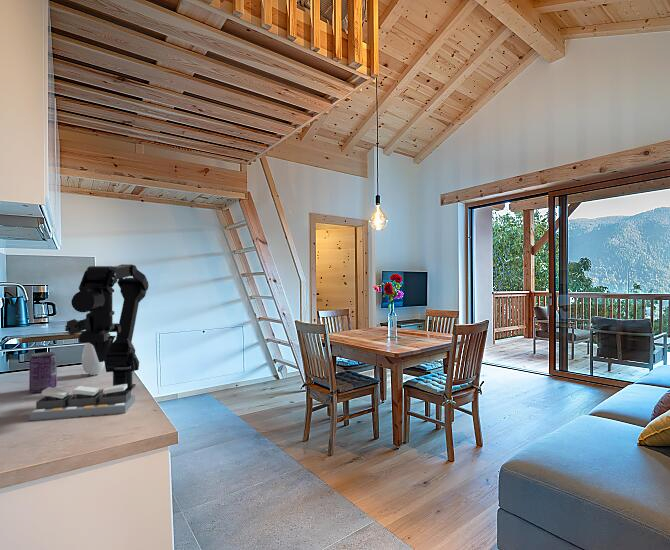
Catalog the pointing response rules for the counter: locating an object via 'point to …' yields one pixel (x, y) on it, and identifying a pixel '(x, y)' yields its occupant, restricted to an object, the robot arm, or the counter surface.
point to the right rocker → (115, 388)
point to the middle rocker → (86, 390)
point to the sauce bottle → (91, 360)
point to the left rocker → (55, 392)
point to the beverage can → (42, 371)
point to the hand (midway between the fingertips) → (101, 361)
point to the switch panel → (82, 405)
